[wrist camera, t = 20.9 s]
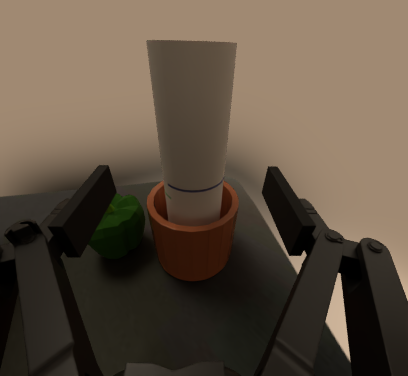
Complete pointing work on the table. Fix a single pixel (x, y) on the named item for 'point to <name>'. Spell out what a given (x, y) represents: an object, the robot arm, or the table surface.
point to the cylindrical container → (192, 124)
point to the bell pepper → (119, 228)
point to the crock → (192, 238)
